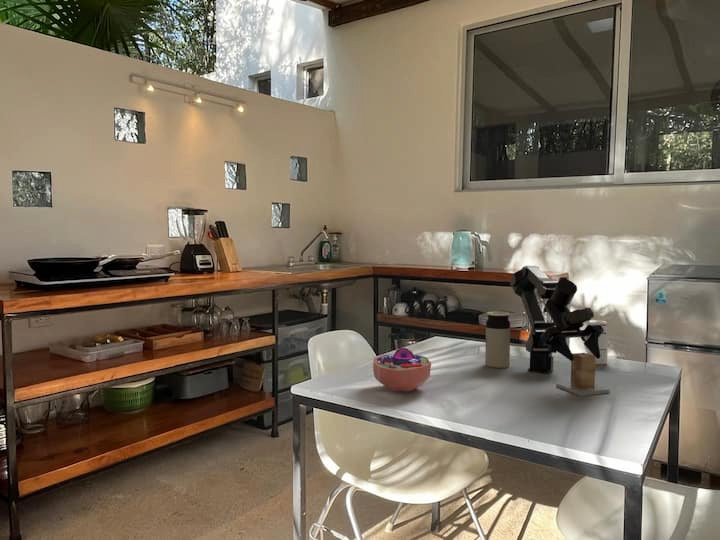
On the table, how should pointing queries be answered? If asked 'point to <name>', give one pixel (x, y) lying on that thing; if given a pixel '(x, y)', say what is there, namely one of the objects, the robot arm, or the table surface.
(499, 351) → the travel mug
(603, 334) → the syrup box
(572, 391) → the coaster
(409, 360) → the cell model
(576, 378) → the walnut block
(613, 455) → the table surface
